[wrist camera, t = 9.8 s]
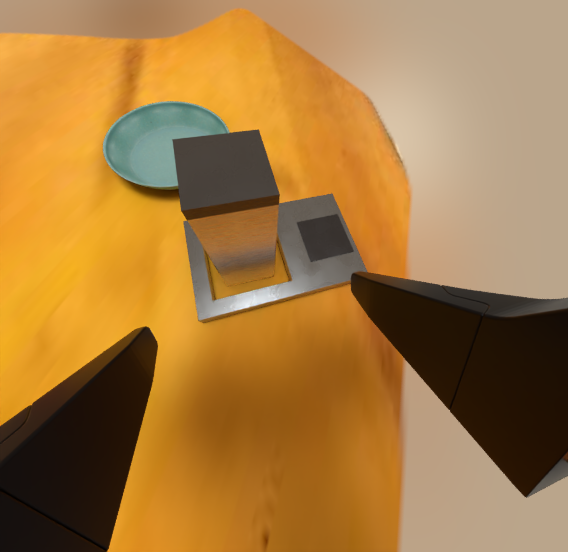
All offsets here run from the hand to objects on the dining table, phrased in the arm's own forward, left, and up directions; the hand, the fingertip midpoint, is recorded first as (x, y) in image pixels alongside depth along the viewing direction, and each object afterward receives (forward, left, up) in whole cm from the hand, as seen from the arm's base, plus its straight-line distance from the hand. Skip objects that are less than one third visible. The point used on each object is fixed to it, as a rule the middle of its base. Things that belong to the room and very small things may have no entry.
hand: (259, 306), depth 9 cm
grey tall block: (+6, +5, -12) cm, 15 cm away
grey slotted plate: (+8, +3, -12) cm, 15 cm away
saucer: (+15, +21, -13) cm, 29 cm away
